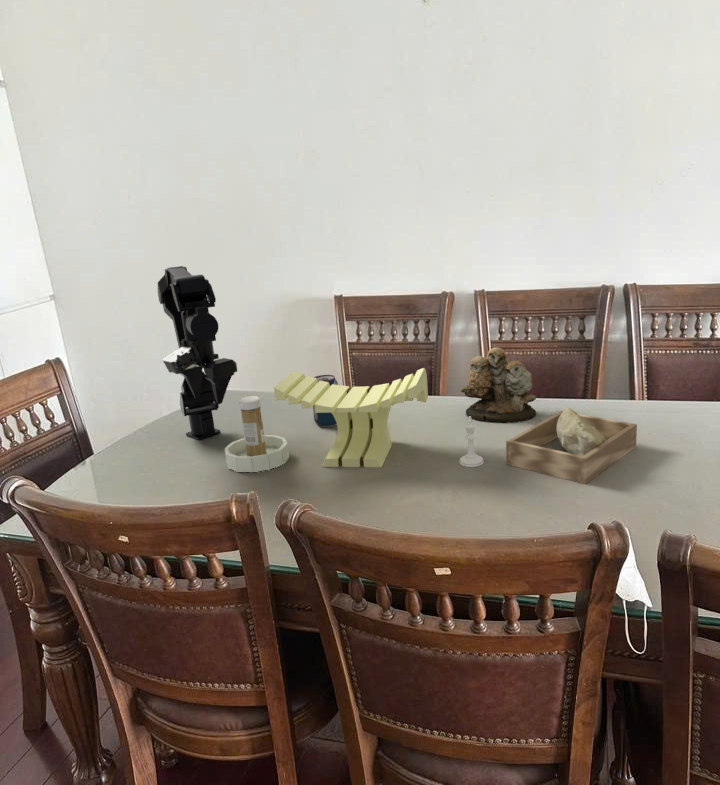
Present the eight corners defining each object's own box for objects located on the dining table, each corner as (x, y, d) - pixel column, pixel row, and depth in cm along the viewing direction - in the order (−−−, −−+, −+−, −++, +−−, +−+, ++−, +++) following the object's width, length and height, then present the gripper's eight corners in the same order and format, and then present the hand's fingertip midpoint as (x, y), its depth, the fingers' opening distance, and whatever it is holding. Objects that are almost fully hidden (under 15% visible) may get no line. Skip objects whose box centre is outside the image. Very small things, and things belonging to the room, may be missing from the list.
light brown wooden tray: (506, 464, 136) (506, 441, 135) (561, 432, 151) (561, 410, 149) (585, 484, 124) (585, 459, 123) (636, 447, 139) (636, 424, 138)
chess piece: (485, 458, 140) (483, 413, 137) (481, 467, 136) (479, 421, 133) (462, 457, 142) (460, 412, 139) (457, 466, 137) (455, 420, 134)
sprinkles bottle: (271, 454, 150) (264, 396, 146) (256, 461, 146) (248, 402, 143) (257, 451, 153) (249, 394, 149) (242, 457, 149) (234, 400, 146)
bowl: (215, 464, 150) (212, 449, 149) (263, 445, 159) (261, 431, 158) (251, 478, 140) (249, 462, 139) (300, 457, 150) (299, 442, 149)
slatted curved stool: (430, 439, 153) (426, 364, 148) (421, 467, 138) (416, 384, 133) (305, 440, 160) (296, 367, 155) (283, 466, 145) (273, 387, 140)
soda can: (347, 420, 171) (342, 375, 168) (331, 429, 166) (326, 382, 162) (324, 417, 175) (320, 373, 172) (309, 426, 170) (304, 380, 166)
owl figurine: (459, 423, 163) (455, 354, 158) (464, 408, 173) (461, 343, 169) (536, 423, 158) (534, 352, 153) (536, 407, 169) (535, 341, 164)
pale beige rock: (566, 445, 148) (528, 418, 139) (589, 421, 146) (553, 392, 138) (608, 490, 136) (570, 463, 127) (635, 464, 134) (598, 435, 126)
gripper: (143, 337, 149) (155, 403, 153) (188, 344, 136) (200, 417, 140) (187, 327, 156) (197, 391, 161) (233, 333, 144) (243, 403, 148)
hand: (208, 400), depth 152 cm, fingers open, 9 cm apart
